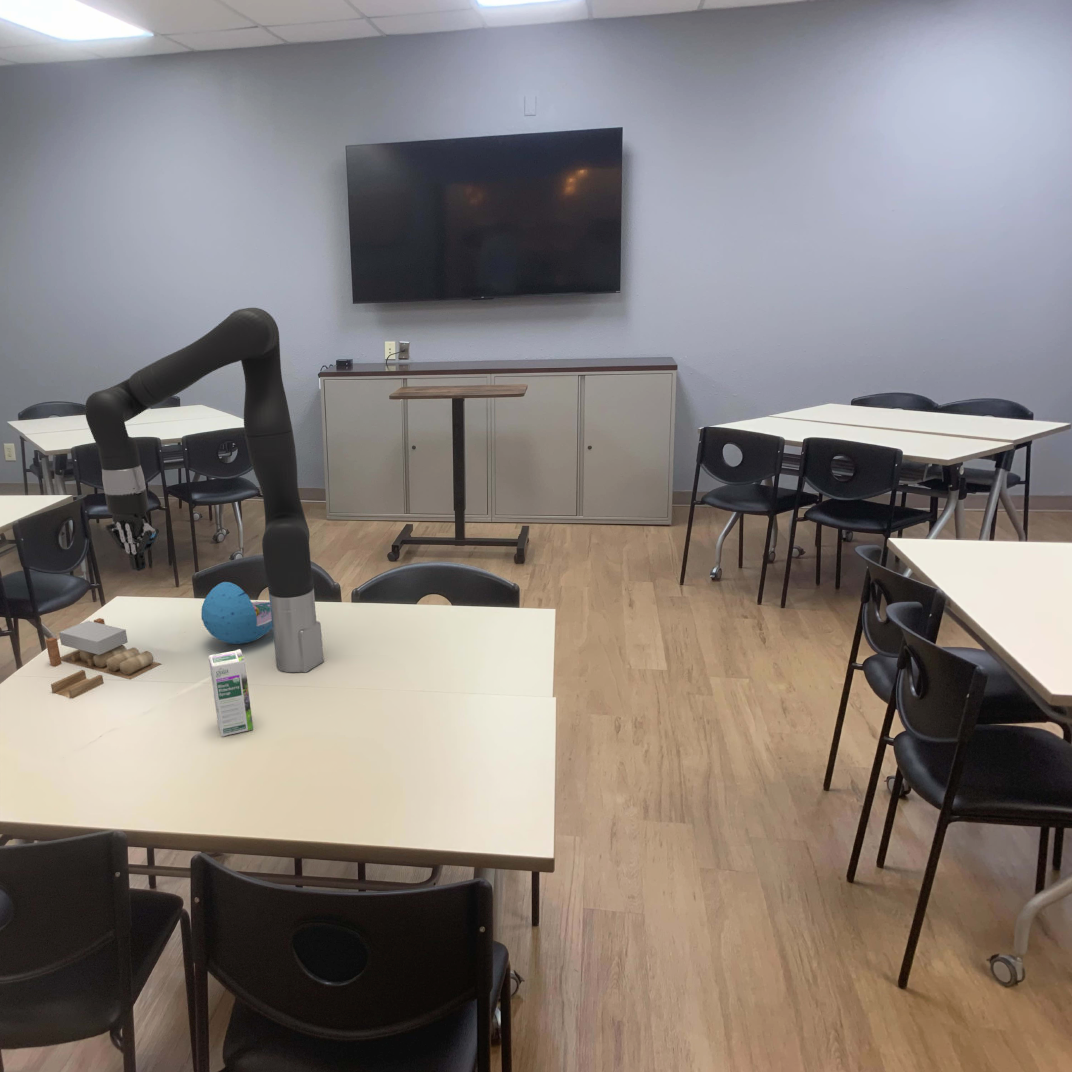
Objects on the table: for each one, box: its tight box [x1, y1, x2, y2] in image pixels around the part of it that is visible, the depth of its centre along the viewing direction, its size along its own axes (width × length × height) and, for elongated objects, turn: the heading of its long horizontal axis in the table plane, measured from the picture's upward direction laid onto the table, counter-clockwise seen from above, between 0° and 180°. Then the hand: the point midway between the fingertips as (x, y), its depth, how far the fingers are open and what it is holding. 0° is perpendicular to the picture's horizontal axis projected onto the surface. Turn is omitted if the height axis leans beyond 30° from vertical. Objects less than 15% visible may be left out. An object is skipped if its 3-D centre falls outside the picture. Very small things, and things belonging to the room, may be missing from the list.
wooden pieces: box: [45, 617, 162, 699], centre depth 172 cm, size 23×21×7 cm
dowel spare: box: [80, 650, 97, 663], centre depth 177 cm, size 3×5×3 cm, turn 156°
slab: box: [58, 620, 129, 655], centre depth 176 cm, size 12×7×3 cm, turn 65°
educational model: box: [201, 581, 273, 645], centre depth 187 cm, size 16×19×15 cm
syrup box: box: [208, 648, 254, 738], centre depth 150 cm, size 6×6×14 cm
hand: (139, 569), depth 168 cm, fingers closed
